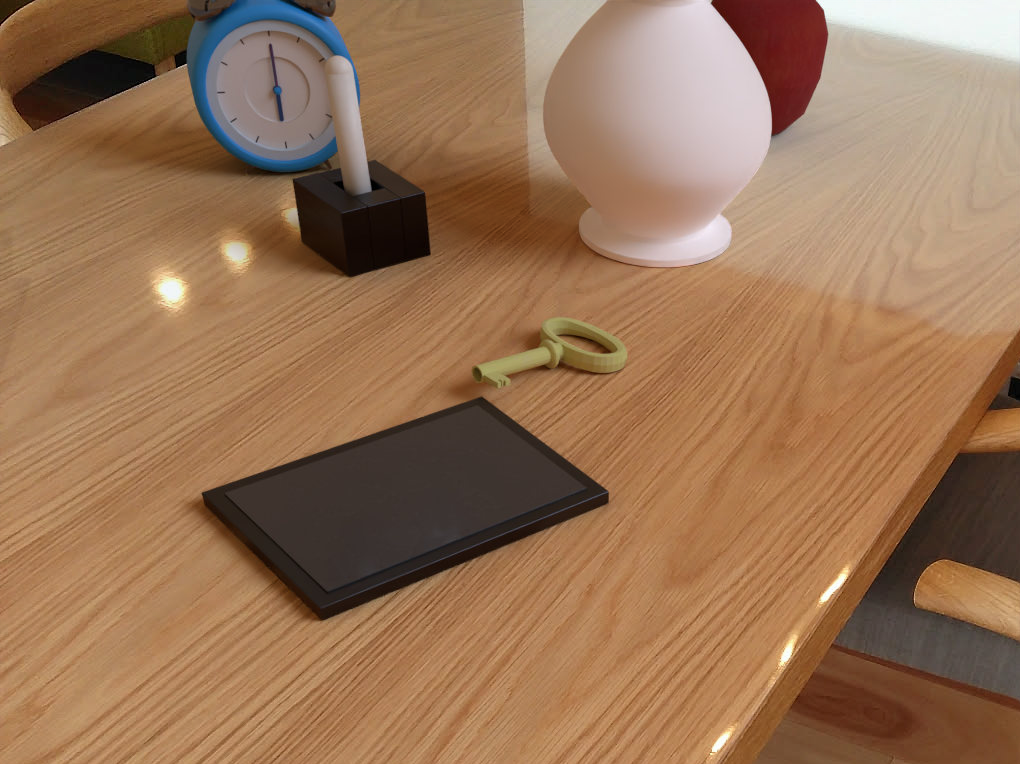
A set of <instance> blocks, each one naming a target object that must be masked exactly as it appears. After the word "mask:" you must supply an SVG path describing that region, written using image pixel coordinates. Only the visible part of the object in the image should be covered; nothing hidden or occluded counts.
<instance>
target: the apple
mask: <svg viewBox="0 0 1020 764" xmlns="http://www.w3.org/2000/svg"><path fill="white" fill-rule="evenodd" d="M710 3H711V5H712V6H713V7H714V8H715V9H716V10H717V12H718V13H719V14H720V15H721V16H722V18H723V19H724V20H725V21H726V22H727V24H728V25H729V26H730V27H731V29H732V30H733V31H734V33H735V34H736V35H737V37H738V38H739V39H740V41H741V42H742V44H743V45H744V47H745V48H746V50H747V52H748V53H749V55H750V57H751V58H752V60H753V62H754V64H755V66H756V68H757V69H758V71H759V74H760V76H761V78H762V80H763V82H764V85H765V88H766V90H767V94H768V97H769V101H770V107H771V116H772V131H771V136H774V135H779V134H781V133H783V132H784V131H785V130H786V129H788V128H789V127H790V126H792V125H793V124H794V123H795V122H797V120H799V119H800V118H802V117H803V116H804V115H805V113H806V111H807V109H808V106H809V104H810V102H811V100H812V98H813V95H814V94H815V91H816V89H817V86H818V84H819V82H820V81H821V77H822V72H823V67H824V61H825V56H826V52H827V46H828V42H829V41H828V40H829V31H828V25H827V19H826V15H825V10H824V8H823V7H822V5H821V4H820V3H819V2H818V1H817V0H711V1H710Z"/></svg>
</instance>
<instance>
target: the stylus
mask: <svg viewBox="0 0 1020 764" xmlns="http://www.w3.org/2000/svg"><path fill="white" fill-rule="evenodd" d="M325 76H326V82H327V88H328V94H329V100H330V106H331V112H332V118H333V124H334V130H335V136H336V142H337V148H338V152H337V153H338V159H339V165H340V168H341V172H342V178H343V184H344V190H345V192H347V193H348V194H350V195H351V196H352V197H353V196H355V195H359V194H363V193H367V192H371V191H372V190H371V183H370V177H369V170H368V164H367V161H368V158H367V152H366V144H365V139H364V131H363V126H362V119H361V113H360V112H361V111H360V107H359V105H358V99H357V92H356V86H355V80H354V73H353V68H352V65H351V63H350V62H349V61H348V60H347V59H346V58H344V57H342V56H332V57H330V58H329V59H328V60H327V62H326V64H325Z"/></svg>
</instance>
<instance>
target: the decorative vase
mask: <svg viewBox="0 0 1020 764" xmlns="http://www.w3.org/2000/svg"><path fill="white" fill-rule="evenodd" d="M542 119H543V121H542V122H543V130H544V131H543V132H544V135H545V139H546V142H547V144H548V147H549V150H550V152H551V153H552V156H553V157H554V159H555V160H556V162H557V163H558V165H559V167H560V168H561V170H562V171H563V172H564V173H565V175H566V176H567V178H568V179H569V180H570V181H571V183H572V184H573V185H574V186H575V188H576V189H577V190H578V192H579V193H580V194H581V195H582V196H583V197H584V199H585V200H586V201H587V203H589V205H590V207H588V208H587V209H586V210H585V211H583V213H582V214H581V216H580V217H579V221H578V233H579V236H580V238H581V240H582V242H583V243H584V244H585V245H586V246H587V247H588V248H589V249H591V250H592V251H593V252H595V253H597V254H599V255H601V256H603V257H605V258H608V259H610V260H613V261H616V262H620V263H623V264H628V265H633V266H639V267H648V268H680V267H687V266H692V265H693V266H694V265H698V264H701V263H705V262H708V261H710V260H713V259H715V258H717V257H719V256H720V255H722V254H723V253H724V252H725V251H727V249H728V248H729V246H730V245H731V243H732V234H733V232H732V231H733V230H732V226H731V223H730V222H729V221H728V219H727V218H726V217H725V215H722V212H723V211H724V210H725V209H726V208H727V207H728V206H729V205H730V204H731V203H732V202H733V201H734V199H735V198H736V197H737V196H739V194H740V193H741V192H743V191H742V190H744V189H745V187H746V186H747V185H748V184H749V183H750V181H752V179H753V178H754V177H755V175H756V174H757V172H758V171H759V169H760V168H761V166H762V165H763V163H764V161H765V159H766V157H767V154H768V152H769V148H770V145H771V139H772V135H771V131H772V116H771V107H770V101H769V97H768V94H767V90H766V88H765V85H764V82H763V80H762V78H761V76H760V74H759V71H758V69H757V68H756V66H755V64H754V62H753V60H752V58H751V57H750V55H749V53H748V52H747V50H746V48H745V47H744V45H743V44H742V42H741V41H740V39H739V38H738V37H737V35H736V34H735V33H734V31H733V30H732V29H731V27H730V26H729V25H728V24H727V22H726V21H725V20H724V19H723V18H722V16H721V15H720V14H719V13H718V12H717V10H716V9H715V8H714V7H713V6H712V5H711V1H709V0H606V1H605V2H604V3H603V4H602V5H601V6H600V7H599V8H598V9H597V10H596V11H595V12H594V13H593V14H592V15H591V16H590V17H589V18H588V20H586V22H584V24H583V25H582V26H581V27H580V28H579V30H578V31H577V32H576V33H575V34H574V36H573V37H572V38H571V40H570V41H569V43H568V44H567V46H566V47H565V48H564V50H563V52H562V53H561V55H560V57H559V58H558V60H557V62H556V64H555V65H554V68H553V69H552V72H551V74H550V76H549V79H548V82H547V84H546V89H545V92H544V99H543V108H542Z"/></svg>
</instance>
